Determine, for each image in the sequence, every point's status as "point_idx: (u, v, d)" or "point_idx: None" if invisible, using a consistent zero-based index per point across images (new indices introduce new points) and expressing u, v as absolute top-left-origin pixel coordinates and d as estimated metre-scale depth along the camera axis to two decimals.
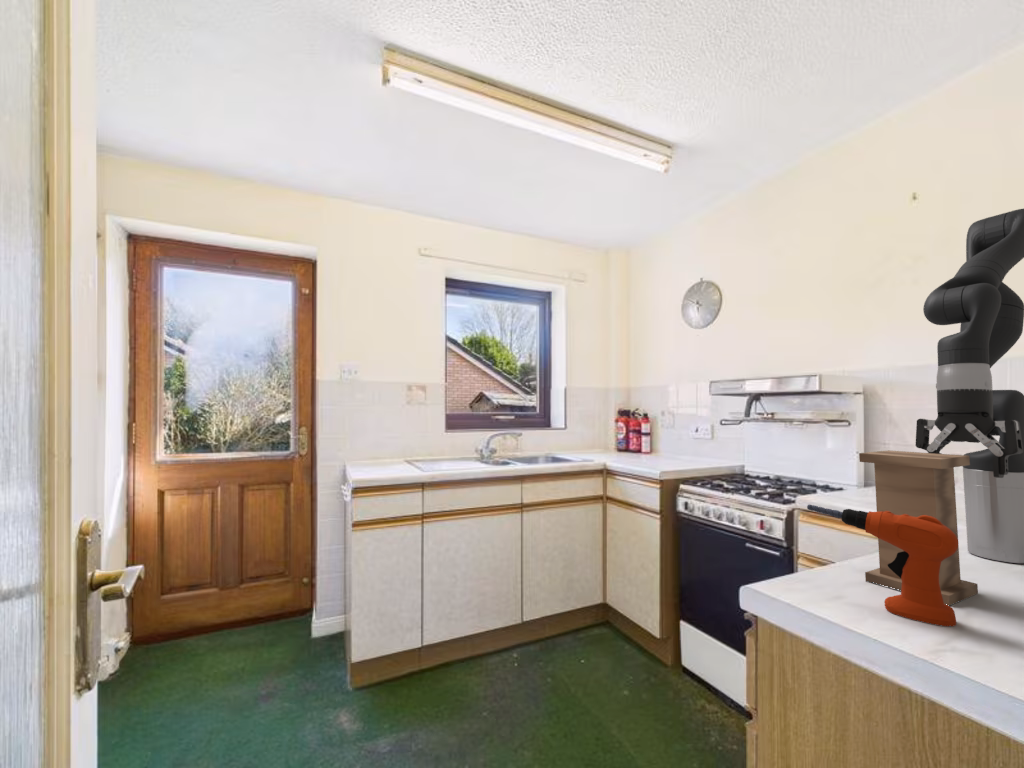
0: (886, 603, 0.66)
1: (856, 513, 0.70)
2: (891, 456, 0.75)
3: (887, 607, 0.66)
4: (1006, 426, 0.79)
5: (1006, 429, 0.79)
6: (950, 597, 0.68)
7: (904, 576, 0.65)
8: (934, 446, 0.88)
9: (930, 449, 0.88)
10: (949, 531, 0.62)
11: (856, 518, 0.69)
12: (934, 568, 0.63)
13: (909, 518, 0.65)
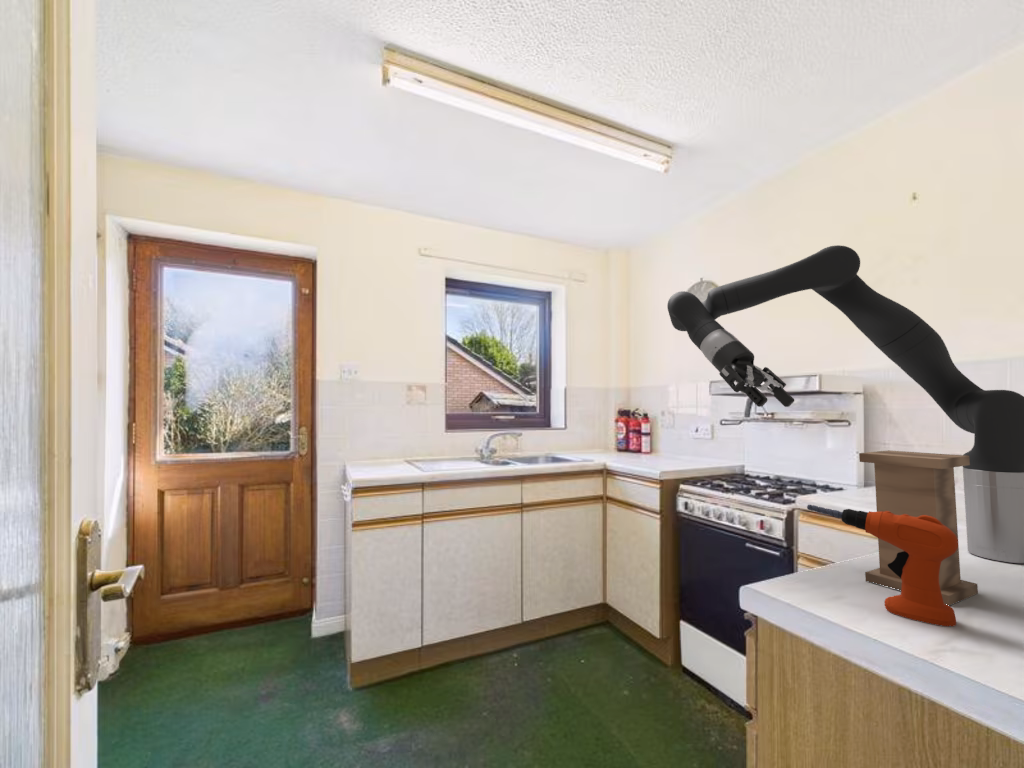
0: (886, 603, 0.66)
1: (856, 513, 0.70)
2: (891, 456, 0.75)
3: (887, 607, 0.66)
4: None
5: None
6: (950, 597, 0.68)
7: (904, 576, 0.65)
8: None
9: None
10: (949, 531, 0.62)
11: (856, 518, 0.69)
12: (934, 568, 0.63)
13: (909, 518, 0.65)
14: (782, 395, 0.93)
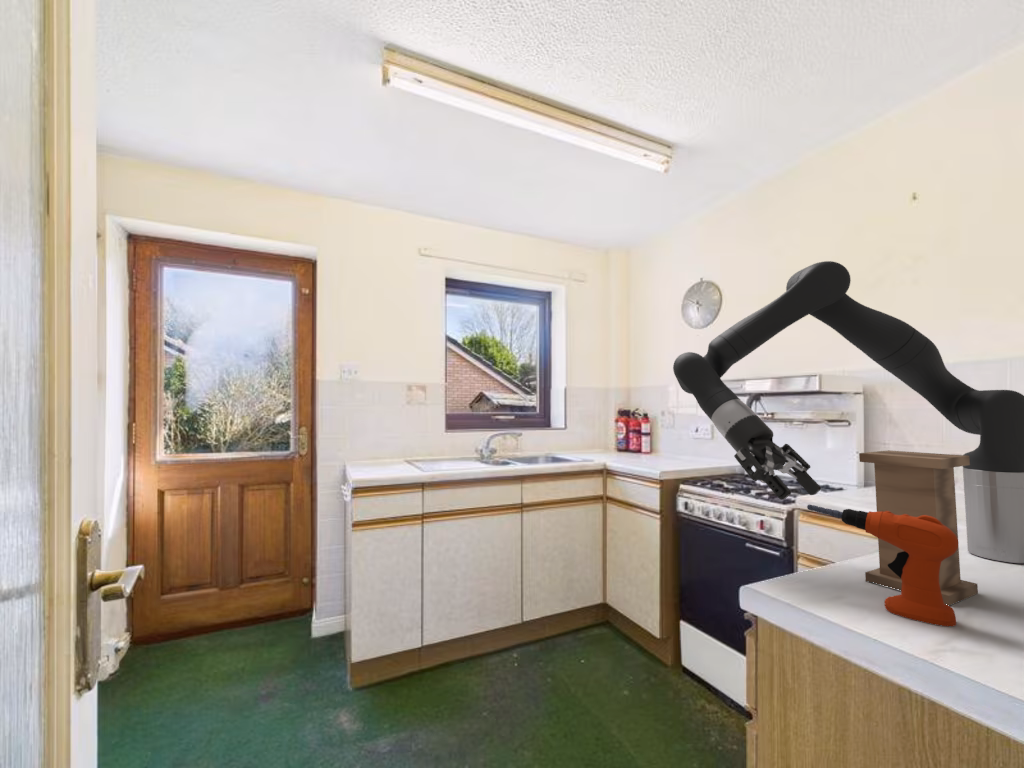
0: (886, 603, 0.66)
1: (856, 513, 0.70)
2: (891, 456, 0.75)
3: (887, 607, 0.66)
4: None
5: None
6: (950, 597, 0.68)
7: (904, 576, 0.65)
8: None
9: None
10: (949, 531, 0.62)
11: (856, 518, 0.69)
12: (934, 568, 0.63)
13: (909, 518, 0.65)
14: (806, 481, 0.82)
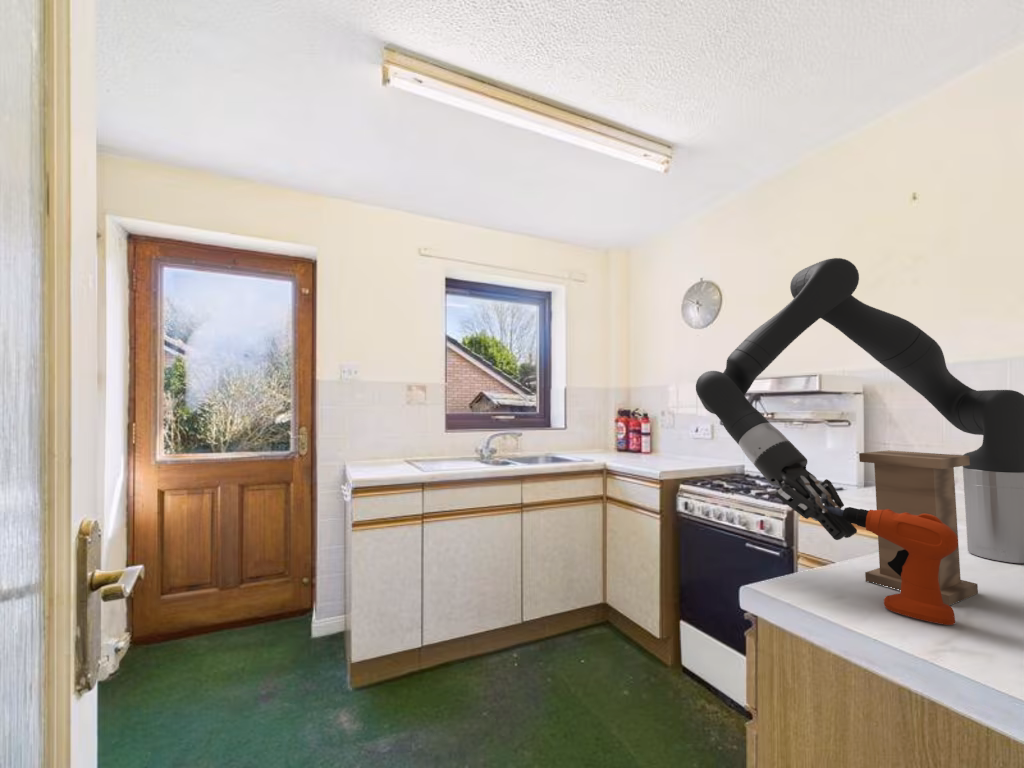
0: (885, 601, 0.67)
1: (857, 511, 0.71)
2: (891, 456, 0.75)
3: (886, 605, 0.66)
4: None
5: None
6: (950, 597, 0.68)
7: (903, 574, 0.66)
8: None
9: None
10: (949, 529, 0.63)
11: (857, 516, 0.70)
12: (933, 566, 0.63)
13: (909, 516, 0.66)
14: (840, 522, 0.74)
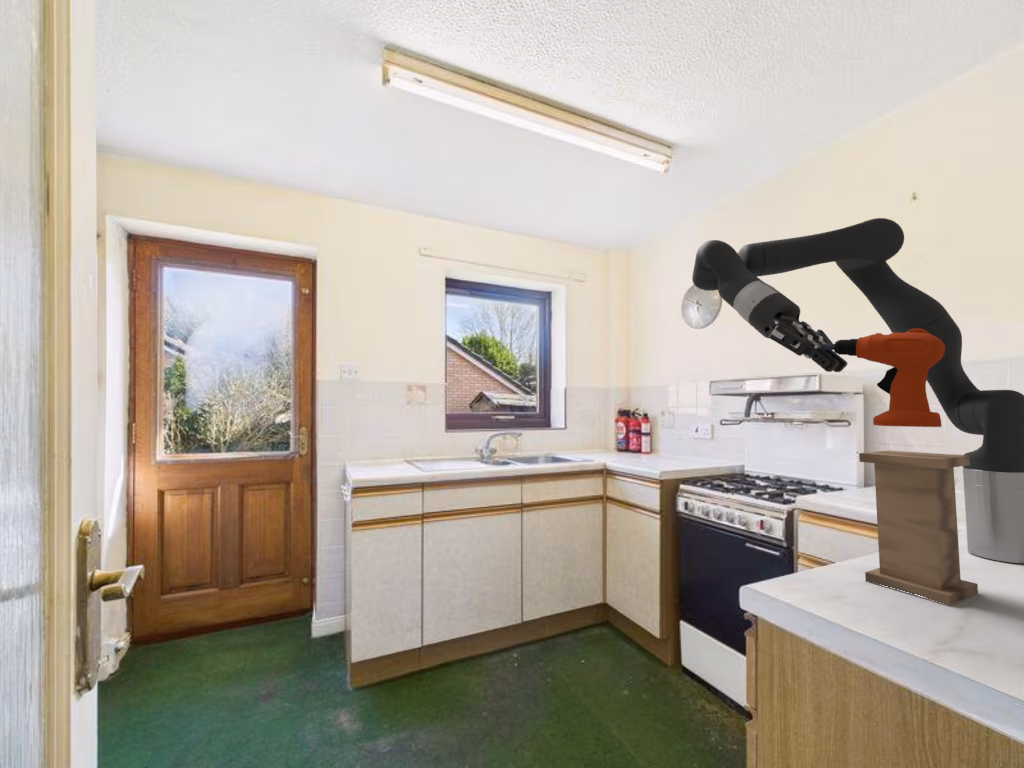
0: (874, 418, 0.68)
1: (848, 340, 0.72)
2: (891, 456, 0.75)
3: (875, 421, 0.68)
4: None
5: None
6: (950, 597, 0.68)
7: (892, 389, 0.67)
8: None
9: None
10: (936, 337, 0.64)
11: (847, 344, 0.72)
12: (921, 375, 0.65)
13: (898, 333, 0.68)
14: None
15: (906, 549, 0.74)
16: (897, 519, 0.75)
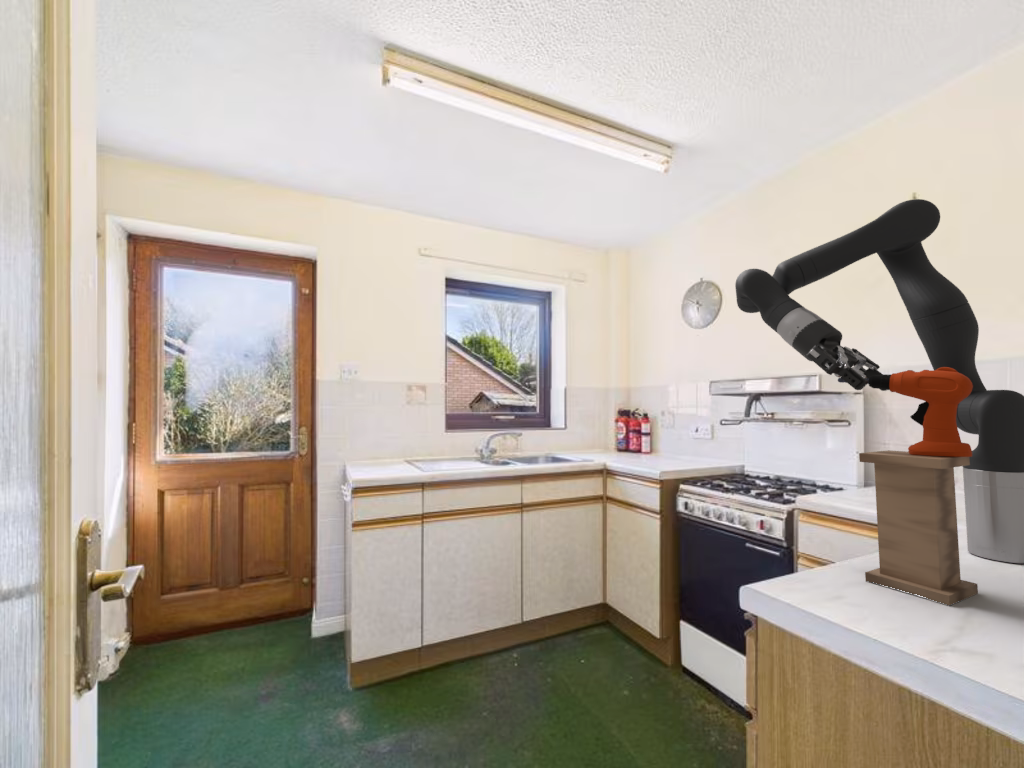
0: (909, 448, 0.76)
1: (881, 376, 0.80)
2: (891, 456, 0.75)
3: (910, 451, 0.76)
4: None
5: None
6: (950, 597, 0.68)
7: (925, 422, 0.75)
8: None
9: None
10: (963, 376, 0.71)
11: (881, 379, 0.79)
12: (951, 410, 0.72)
13: (928, 371, 0.75)
14: None
15: (906, 549, 0.74)
16: (897, 519, 0.75)
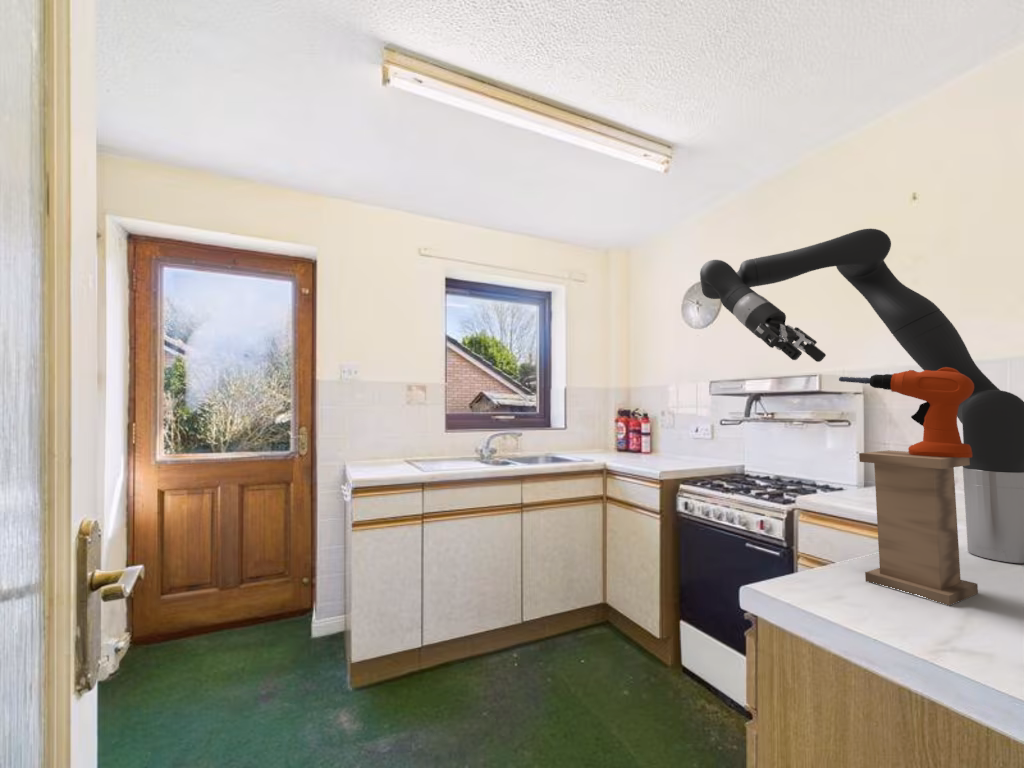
0: (909, 448, 0.76)
1: (883, 376, 0.80)
2: (891, 456, 0.75)
3: (910, 451, 0.76)
4: None
5: None
6: (950, 597, 0.68)
7: (925, 422, 0.75)
8: None
9: (804, 351, 1.02)
10: (965, 376, 0.71)
11: (882, 379, 0.79)
12: (952, 410, 0.72)
13: (930, 371, 0.75)
14: (814, 351, 0.99)
15: (906, 549, 0.74)
16: (897, 519, 0.75)
